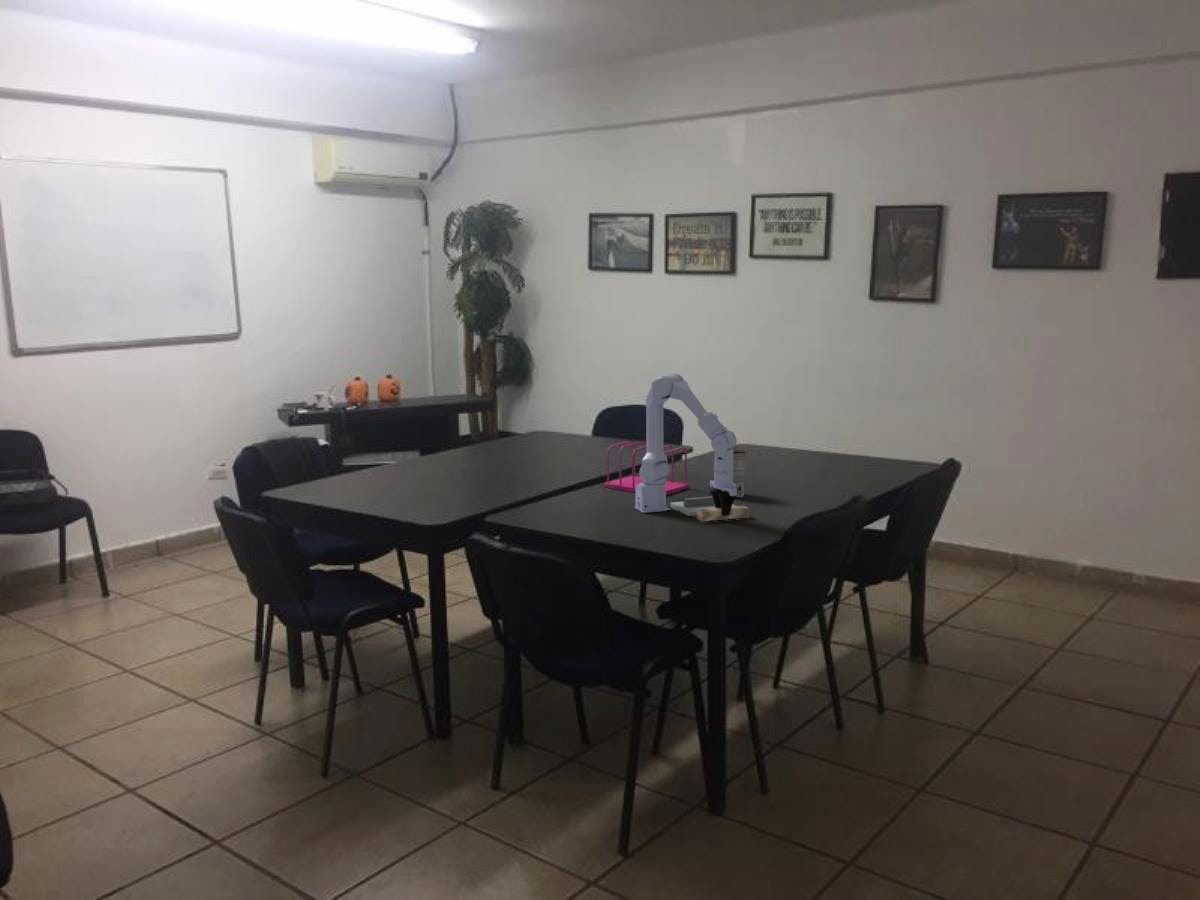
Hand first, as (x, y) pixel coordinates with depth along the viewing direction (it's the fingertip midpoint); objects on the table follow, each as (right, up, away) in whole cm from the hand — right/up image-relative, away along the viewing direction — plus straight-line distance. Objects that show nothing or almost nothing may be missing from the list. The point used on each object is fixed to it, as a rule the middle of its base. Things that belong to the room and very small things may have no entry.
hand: (722, 513), depth 297 cm
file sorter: (-21, +6, +45) cm, 50 cm away
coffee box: (+7, +4, +33) cm, 34 cm away
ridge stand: (-4, +1, +12) cm, 13 cm away
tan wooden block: (0, -2, 0) cm, 2 cm away
